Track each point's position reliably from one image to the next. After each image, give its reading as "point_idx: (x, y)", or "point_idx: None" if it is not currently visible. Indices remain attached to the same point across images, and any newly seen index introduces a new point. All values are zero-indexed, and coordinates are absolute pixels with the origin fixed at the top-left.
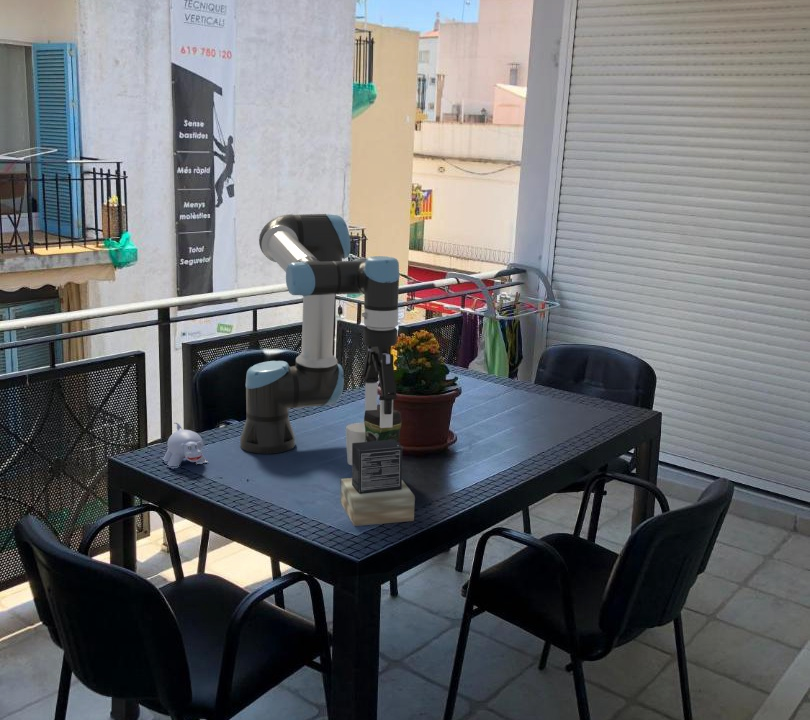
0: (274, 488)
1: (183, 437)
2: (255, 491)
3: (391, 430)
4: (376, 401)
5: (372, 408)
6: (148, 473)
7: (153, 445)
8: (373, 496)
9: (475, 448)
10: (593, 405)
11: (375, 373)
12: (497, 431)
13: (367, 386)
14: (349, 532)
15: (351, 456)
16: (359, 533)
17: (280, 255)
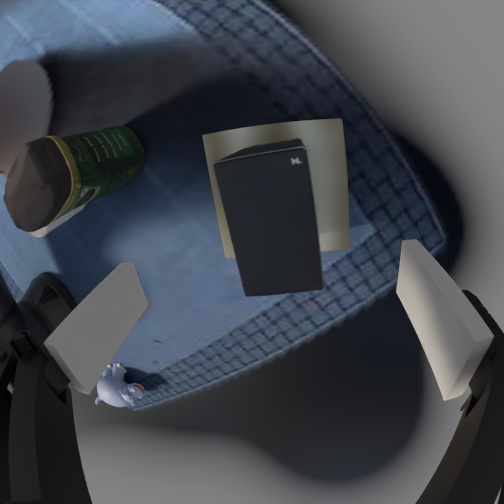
0: (180, 319)
1: (121, 404)
2: (192, 340)
3: (74, 158)
4: (112, 284)
5: (135, 283)
6: (158, 403)
7: (95, 385)
8: (333, 208)
9: (40, 32)
10: None
11: (49, 425)
12: (9, 25)
13: (92, 377)
14: (362, 240)
15: (75, 211)
16: (369, 225)
17: None
